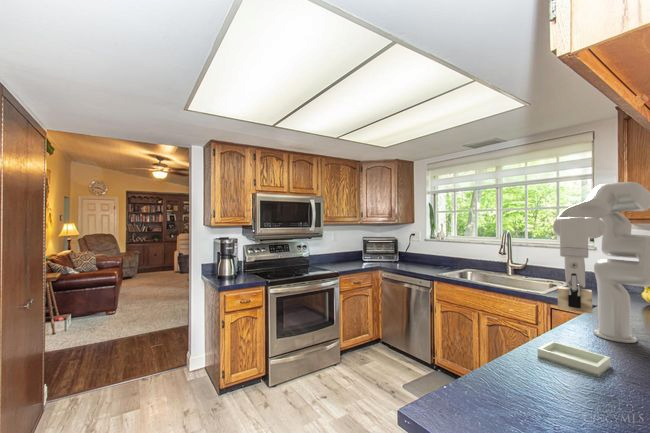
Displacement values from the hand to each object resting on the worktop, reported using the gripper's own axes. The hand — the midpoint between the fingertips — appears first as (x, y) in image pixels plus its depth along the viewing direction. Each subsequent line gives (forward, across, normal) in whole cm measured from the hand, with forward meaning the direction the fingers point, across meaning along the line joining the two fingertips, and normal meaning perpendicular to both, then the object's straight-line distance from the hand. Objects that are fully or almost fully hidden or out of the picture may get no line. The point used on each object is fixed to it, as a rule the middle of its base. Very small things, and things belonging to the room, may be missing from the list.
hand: (574, 305), depth 103 cm
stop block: (+1, 0, 0) cm, 1 cm away
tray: (+18, -3, +1) cm, 19 cm away
